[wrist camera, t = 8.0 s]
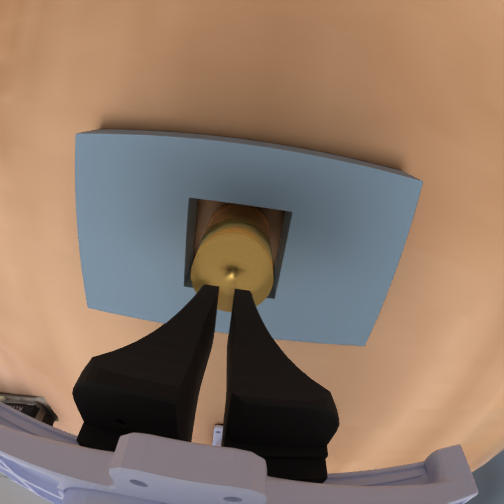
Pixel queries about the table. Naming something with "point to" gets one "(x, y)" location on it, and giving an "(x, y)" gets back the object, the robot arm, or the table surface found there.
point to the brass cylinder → (235, 255)
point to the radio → (29, 410)
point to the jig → (246, 193)
